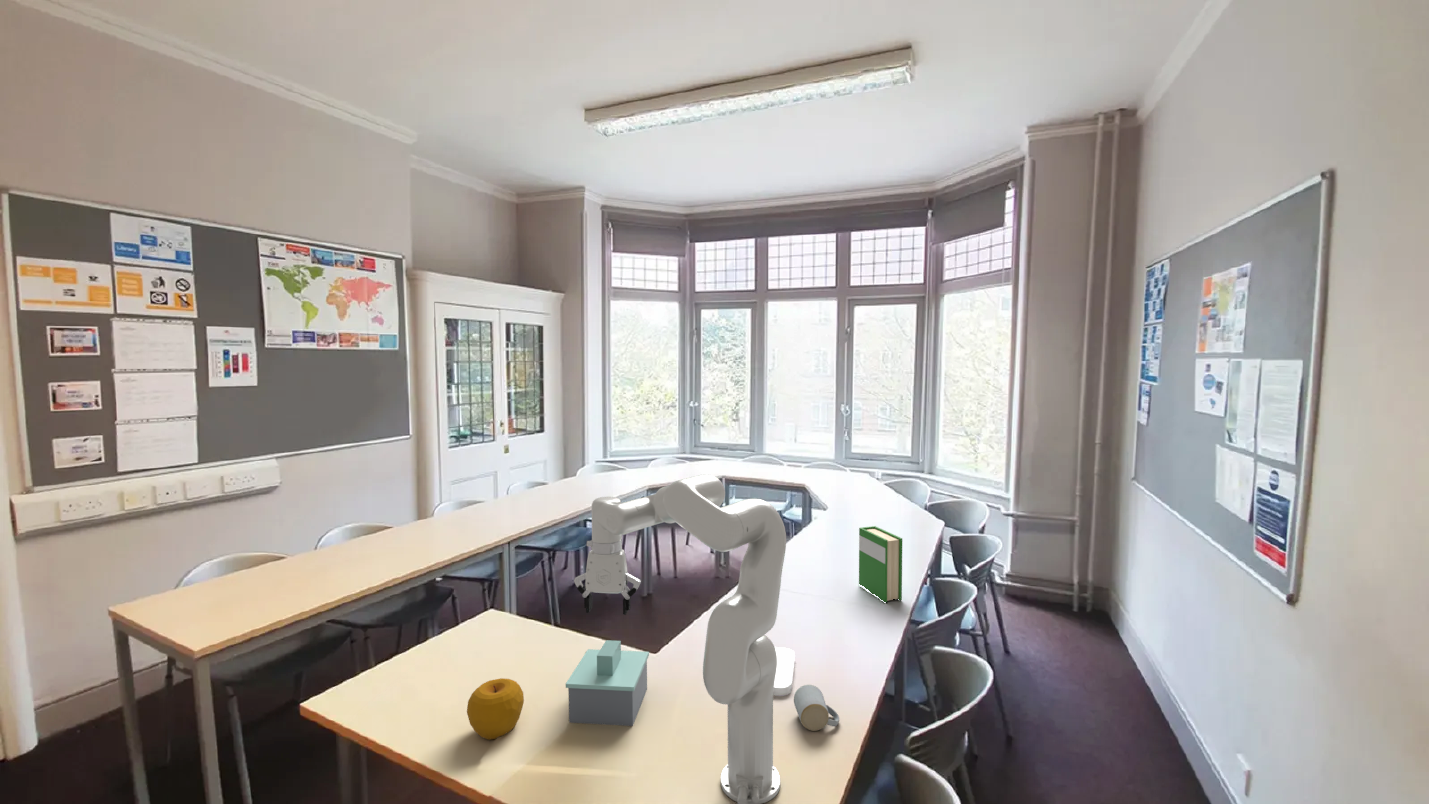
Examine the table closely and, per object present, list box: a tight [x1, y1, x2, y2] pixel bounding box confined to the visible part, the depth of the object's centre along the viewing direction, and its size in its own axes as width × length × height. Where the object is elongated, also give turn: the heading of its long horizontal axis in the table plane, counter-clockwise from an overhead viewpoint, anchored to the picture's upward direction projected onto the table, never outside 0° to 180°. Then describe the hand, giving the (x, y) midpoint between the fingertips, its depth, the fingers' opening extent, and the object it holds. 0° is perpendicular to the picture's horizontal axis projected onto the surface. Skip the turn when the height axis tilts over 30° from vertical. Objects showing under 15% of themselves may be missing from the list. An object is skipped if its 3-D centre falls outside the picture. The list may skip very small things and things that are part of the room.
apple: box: [466, 677, 525, 741], centre depth 135 cm, size 13×13×11 cm
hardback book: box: [858, 525, 903, 603], centre depth 216 cm, size 18×7×24 cm, turn 18°
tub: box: [567, 660, 648, 727], centre depth 143 cm, size 16×16×10 cm
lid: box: [565, 639, 650, 691], centre depth 143 cm, size 17×17×8 cm
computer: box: [773, 646, 796, 697], centre depth 161 cm, size 22×22×3 cm
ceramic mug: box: [793, 684, 840, 732], centre depth 137 cm, size 11×8×8 cm
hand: (607, 611), depth 142 cm, fingers open, 9 cm apart
